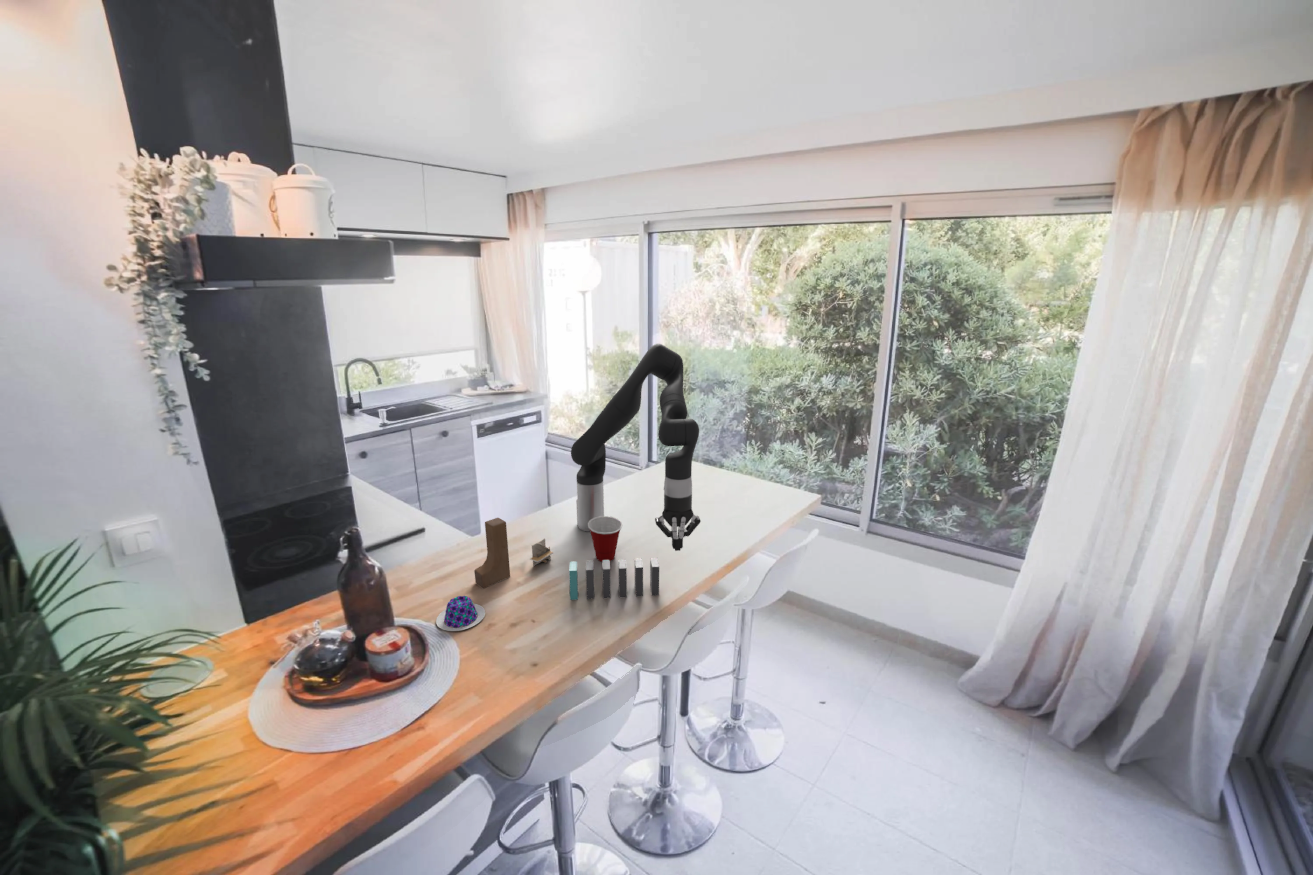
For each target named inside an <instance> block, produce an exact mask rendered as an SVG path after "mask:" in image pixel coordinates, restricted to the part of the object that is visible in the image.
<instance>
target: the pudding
mask: <svg viewBox="0 0 1313 875" xmlns="http://www.w3.org/2000/svg"><path fill="white" fill-rule="evenodd" d="M485 616H486V610H485V608H484V607H483V606H481V605H480V604H477V603H474V602H473V599H471V597H468V596H467V595H459V596H456V597H453V598H451V599H450V600H449V601H448V602H447V604H446V607H445V609H444V610H443V611H441V612H440V613H438V616H436V619H435V623H436V625H437V627H438V628H440V629H441V630H444V631H448V632H459V631H464V630H467V629H470V628H472V627H474V626H476V625H478V624H479V623H480V622H481V621H483V620H484V618H485Z"/></svg>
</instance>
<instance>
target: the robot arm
mask: <svg viewBox="0 0 1313 875" xmlns="http://www.w3.org/2000/svg"><path fill="white" fill-rule="evenodd" d="M650 374H651V375H652V376H654V377H656V378H658V379H660V380H661V381H664V382H665V383H666V386H665V387H664V388H663V389H662V391H661V393H660V395H659V406H660V412H661V418H660V419H661V420H660V424H659V427H658V432H657V433H658V439H659V441H660V443H661V444H662V445H663V446H665V447H682V448H681V449H680V450H678V451H674V452H670V453H669V454H666V456H665V460H664V463H665V464H664V471H665V472H664V473H665V474H664V482H663V510H662V513H661V514H662V515H660V516H659V517H655V518H654V522H655V525H656V526H657V527H658V528H659V530H660V531H662V533H663V534H664V535H665V536H666V537H667V538H671V546H672V549H673V550H674V551H675V552H677V551H681V550H682V549H683V548H684V546H683V544H684V538H685V537H690V535H692V533H693V532H694V531H695V530H696V529H697V527H698V526H699V525H700V523H701V522H702V521H701V519H700V516H698V515H696V514H695V513H694V511H693V507H692V506H693V505H692V504H693V480H692V470H693V469H692V467H693V466H692V463H693V456H694V452H695V449H696V446H697V443H698V440H699V437H700V436H699V435H700V427H699V425H698V424H699V423H698V422H697V421H696V420H695V419H692V418H687V417H688V409H687V404H686V400H685V395H684V362H683V358H682V357H681V356H680V354H678V352H675V351H673V349H671V348H668V347H667V346H665V345H663V344H662V343H655V344H653V345H652V346H651V347H650V348H649V349H647V351H646V352H645V354H644V355H643V357H642V358H641V360H640V361H639V362H638V364H637V366H635V368H634V370H633V371H632V373H631V375H630V376H629V377H628V378H627V379H626V381H625V382H624V383H623V385H622V386H621V387H620V388H619V390H618V391H617V392H616V393H614V395H613V396H612V397H611V398H610V400H609V402H608V403H607V404H606V405H605V407H604V408H603V409H602V411H601V412H600V413H599V415H598V416H597V417H596V418H595V420H594V421H593V423H592V424H591V425H590V426H589V427H588V429H587V430H586V431H584V433H583V434H582V435H581V436H580V437H579V438H578V439H577V440H575V441H574V442H573V444H572V445H571V449H570V456H571V459H572V461H573V462H574V463H575V464H576V465H578V466H580V468H579V469H578V472H577V473H576V496H577V497H576V498H577V499H576V521H577V522H576V524H577V527H578V528H579V530H580V531H584V532H590V529H589V528H588V522H589V521H590V520H591V519H593V518H596V517H601V516H605V502H604V501H605V500H604V498H605V496H604V494H605V493H604V477H605V476H604V475H605V473H606V457H607V456H606V455H607V454H606V452H607V451H606V445H605V444H606V443H607V442H608V441H609V440H610V439H611V438H613V437H614V436H615V435H617V434H618V433H620V431H622V430H623V429H624V428H625V427H626V426H628V424H629V423H630V422H631V421H632V420H633V419H634V418H635V416H636V415H638V413H639V410H640V409H641V404H642V391H643V390H642V389H643V385H644V382H645V380H646V379H647V377H648V376H649V375H650ZM665 522H666V523H667V524H668V526H670V527H671V529H669V528H668V527H667V526H666V524H665Z"/></svg>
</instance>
